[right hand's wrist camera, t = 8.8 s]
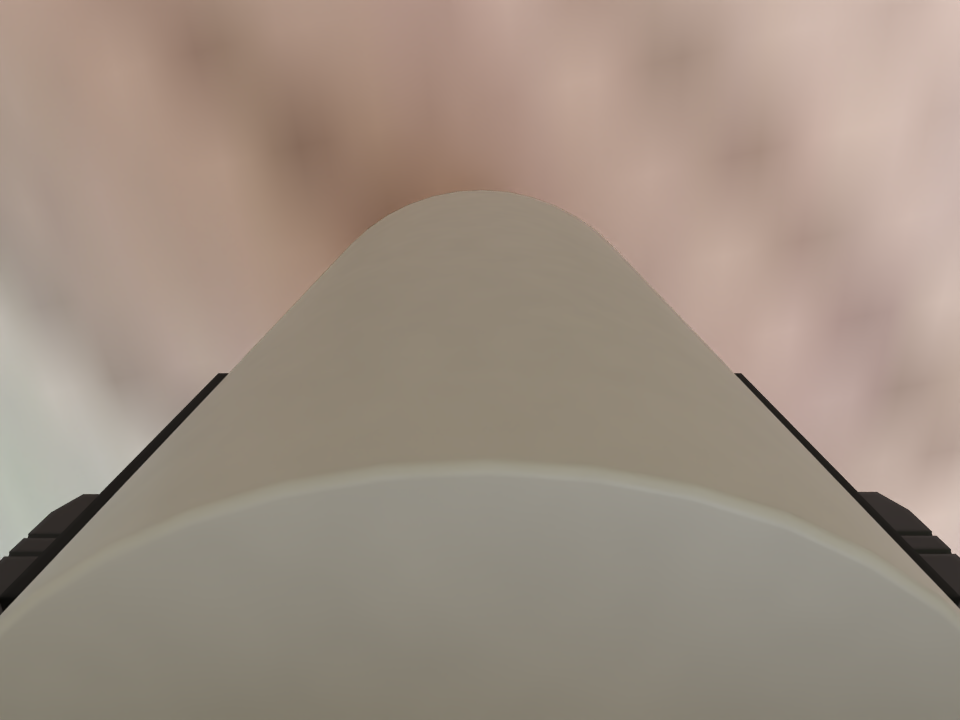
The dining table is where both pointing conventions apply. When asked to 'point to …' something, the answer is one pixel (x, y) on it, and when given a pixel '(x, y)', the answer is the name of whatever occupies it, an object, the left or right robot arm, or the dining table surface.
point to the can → (481, 518)
